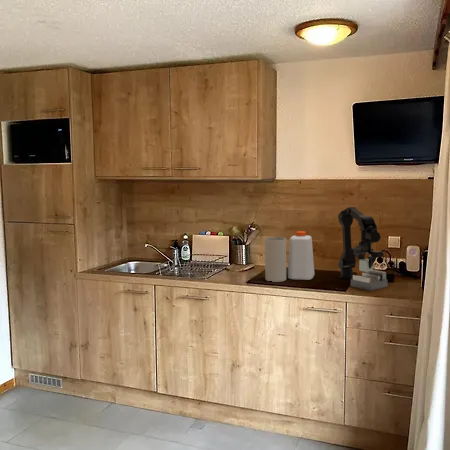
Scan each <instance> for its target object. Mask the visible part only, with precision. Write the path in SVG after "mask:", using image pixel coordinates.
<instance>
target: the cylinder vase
mask: <svg viewBox="0 0 450 450" xmlns="http://www.w3.org/2000/svg"><path fill="white" fill-rule="evenodd" d="M264 270H265V271H264V275H265V278H264V279H265V281H267V282H269V281H272V282H271V283H282V282H285V281H286V280H287V239H286V237H282V236H271V237H270V236H269V237H266V238H265V237H264Z"/></svg>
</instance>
